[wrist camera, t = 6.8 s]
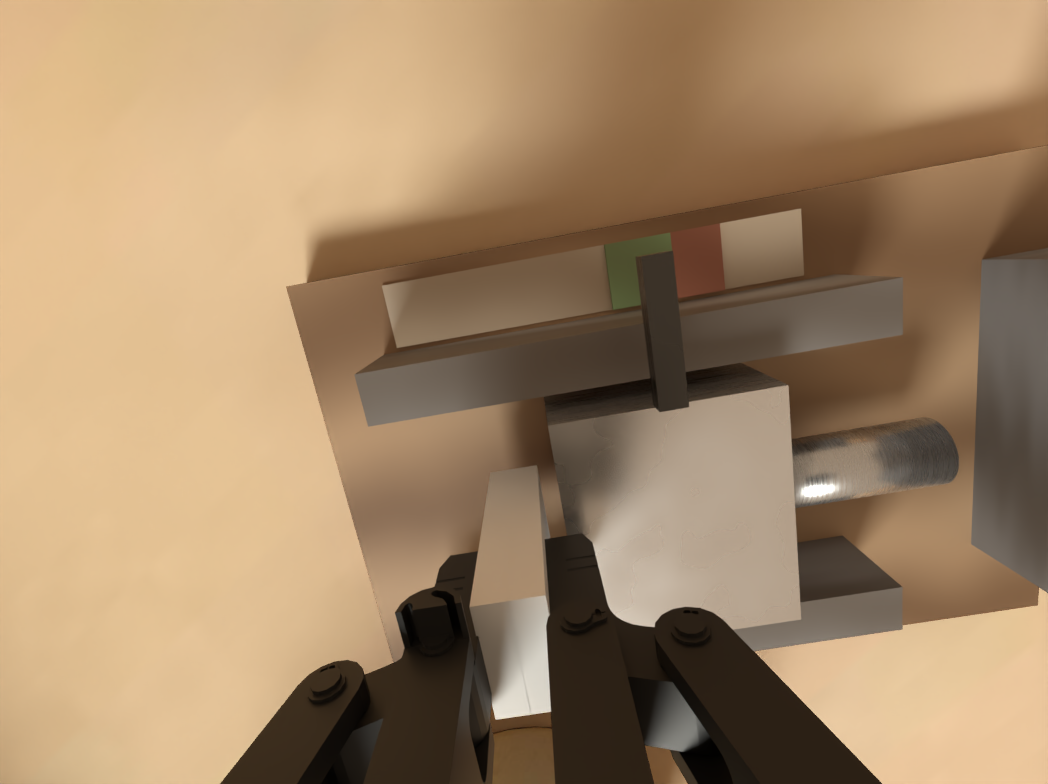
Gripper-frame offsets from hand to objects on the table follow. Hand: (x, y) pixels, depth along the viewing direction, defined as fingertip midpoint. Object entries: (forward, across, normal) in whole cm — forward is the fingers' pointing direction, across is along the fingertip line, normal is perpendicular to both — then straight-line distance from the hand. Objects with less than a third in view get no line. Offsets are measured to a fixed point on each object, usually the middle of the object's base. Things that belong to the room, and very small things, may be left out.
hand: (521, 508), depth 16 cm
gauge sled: (+1, -7, -2) cm, 7 cm away
